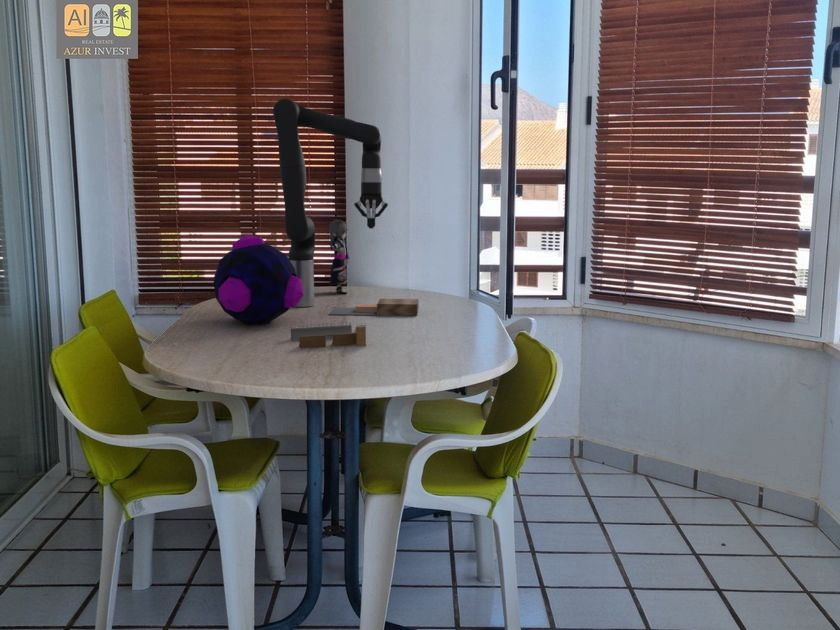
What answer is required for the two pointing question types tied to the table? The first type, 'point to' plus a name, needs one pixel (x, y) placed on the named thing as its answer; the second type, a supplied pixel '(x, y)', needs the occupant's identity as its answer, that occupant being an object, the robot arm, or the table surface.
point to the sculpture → (256, 282)
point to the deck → (397, 307)
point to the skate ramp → (329, 335)
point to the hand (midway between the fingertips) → (371, 228)
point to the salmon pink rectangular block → (366, 308)
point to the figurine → (338, 255)
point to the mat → (349, 312)
